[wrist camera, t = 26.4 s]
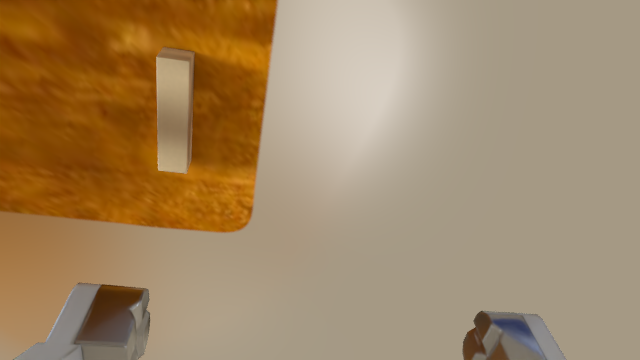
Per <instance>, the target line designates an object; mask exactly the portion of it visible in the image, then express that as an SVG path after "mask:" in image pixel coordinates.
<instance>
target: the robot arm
mask: <svg viewBox="0 0 640 360" xmlns="http://www.w3.org/2000/svg"><path fill="white" fill-rule="evenodd" d="M148 302H149V290H148V289H146V288H135V287H124V286H113V285H100V284H99V285H98V284H88V283H78V284H77V285H76V286H75V287H74V288H73V290H72V291H71V293H70V295H69V297H68V299H67V301H66V303H65V305H64V307H63V309H62V311H61V313H60V315H59V317H58V318H57V321H56V322H55V324H54V326H53V328H52V330H51V332H50V334H49V336H48V338H47V340H46V342H45V343H36V344H35V345H33V346H32V347H30V348H29V349H28V350H26V351H25V352H23V353H22V354H20V355H19V356H18V357H16V358H15V359H13V360H138V359H139V358H140V357H141V356H142V355H143V354H144V352H145V348H146V344H147V340H148V334H149V327H150V313H149V312H148V311H147V310H146V309H147V306H148ZM474 324H475V326H476V327H475V328H474V329H472V330H470V331H469V332H467V334H466V337H465V339H464V341H463V357H464V360H566V358H565V356H564V355H563V353H562V351H561V350H560V348H559V346H558V345H557V343H556V341H555V340H554V338H553V336H552V335H551V333H550V331H549V330H548V328H547V326H546V325H545V323H544V321H543V320H542V318H541V317H540V316H538V315H537V314H523V313H509V312H508V313H507V312H489V311H481V312H479V313H478V314H477V315H476V317H475V319H474Z"/></svg>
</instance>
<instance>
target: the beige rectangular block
mask: <svg viewBox="0 0 640 360" xmlns="http://www.w3.org/2000/svg"><path fill="white" fill-rule="evenodd" d="M156 64H157V129H158V170H159V171H168V172H177V173H187V171H188V168H189V165H190V162H191V153H192V119H193V85H194V52H193V51H186V50H179V49H172V48H165V47H163V49H162V50H161V51H160V53H159V54H158V56H157V57H156Z"/></svg>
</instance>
